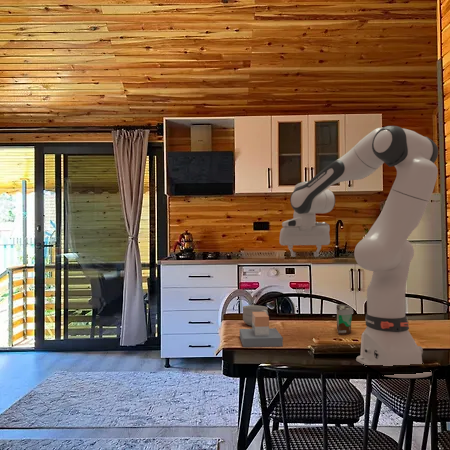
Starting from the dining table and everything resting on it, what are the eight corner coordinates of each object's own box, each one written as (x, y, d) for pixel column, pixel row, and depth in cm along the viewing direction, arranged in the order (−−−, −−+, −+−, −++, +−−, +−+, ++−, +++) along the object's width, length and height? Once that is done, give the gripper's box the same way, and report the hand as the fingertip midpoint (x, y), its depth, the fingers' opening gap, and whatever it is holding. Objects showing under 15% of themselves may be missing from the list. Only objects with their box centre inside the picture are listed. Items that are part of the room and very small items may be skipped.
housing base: (265, 330, 153) (265, 320, 153) (269, 336, 144) (269, 326, 144) (252, 330, 153) (252, 321, 153) (255, 336, 144) (255, 326, 144)
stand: (282, 346, 141) (282, 337, 141) (243, 347, 141) (243, 338, 141) (275, 336, 155) (275, 328, 155) (239, 336, 155) (239, 329, 155)
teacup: (239, 323, 178) (238, 305, 178) (261, 321, 182) (261, 303, 182) (252, 330, 165) (251, 310, 165) (275, 328, 169) (275, 309, 169)
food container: (355, 336, 154) (355, 310, 154) (339, 335, 155) (338, 309, 156) (352, 328, 166) (351, 304, 166) (336, 328, 168) (336, 304, 168)
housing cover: (265, 320, 153) (265, 311, 153) (269, 326, 144) (269, 316, 144) (252, 321, 152) (252, 311, 153) (255, 326, 143) (255, 316, 144)
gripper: (327, 222, 166) (327, 255, 166) (278, 222, 165) (278, 256, 165) (332, 222, 160) (332, 256, 160) (281, 222, 159) (281, 257, 159)
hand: (304, 256), depth 162 cm, fingers open, 8 cm apart
